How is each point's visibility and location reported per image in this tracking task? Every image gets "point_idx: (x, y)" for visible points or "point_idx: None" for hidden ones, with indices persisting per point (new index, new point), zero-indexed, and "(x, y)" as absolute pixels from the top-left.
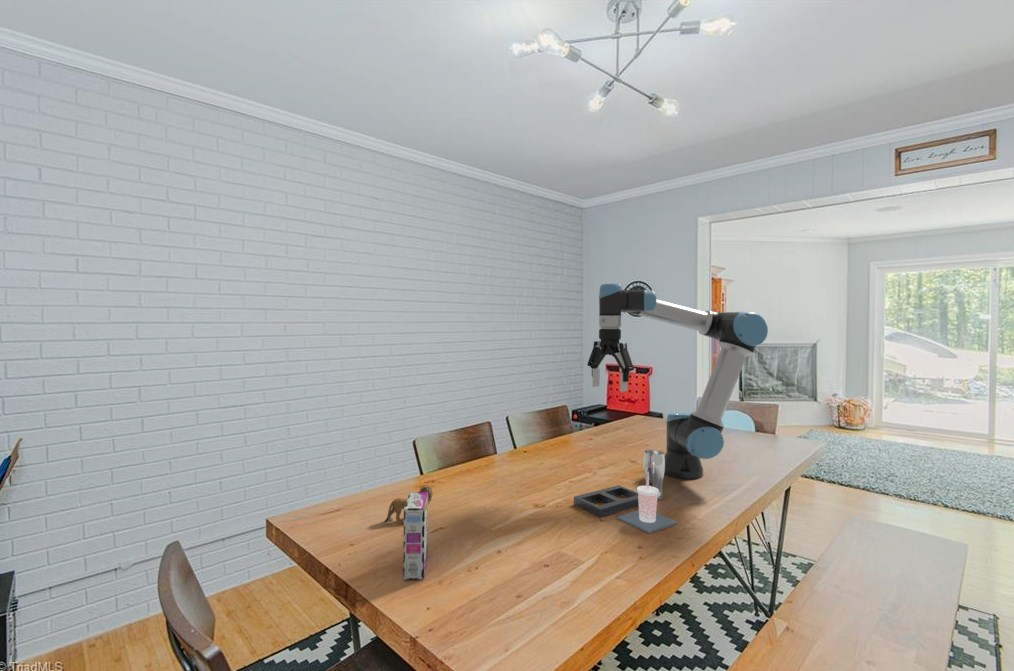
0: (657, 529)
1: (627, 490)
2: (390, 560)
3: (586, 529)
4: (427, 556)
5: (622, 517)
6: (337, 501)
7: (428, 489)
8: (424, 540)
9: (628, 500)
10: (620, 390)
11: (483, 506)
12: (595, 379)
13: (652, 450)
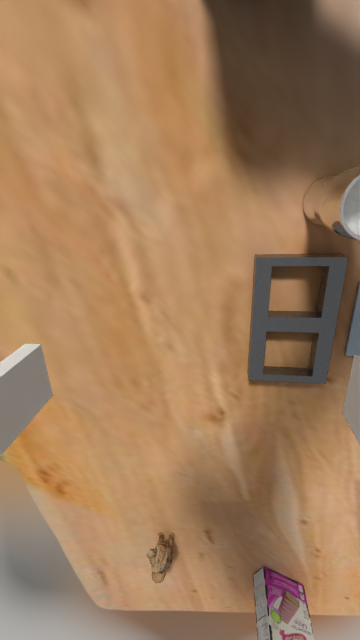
0: None
1: (292, 265)
2: (248, 585)
3: (336, 418)
4: (267, 570)
5: (355, 351)
6: (74, 565)
7: (162, 568)
8: (311, 632)
9: (335, 310)
10: (349, 417)
11: (173, 472)
12: (13, 419)
13: (353, 182)
